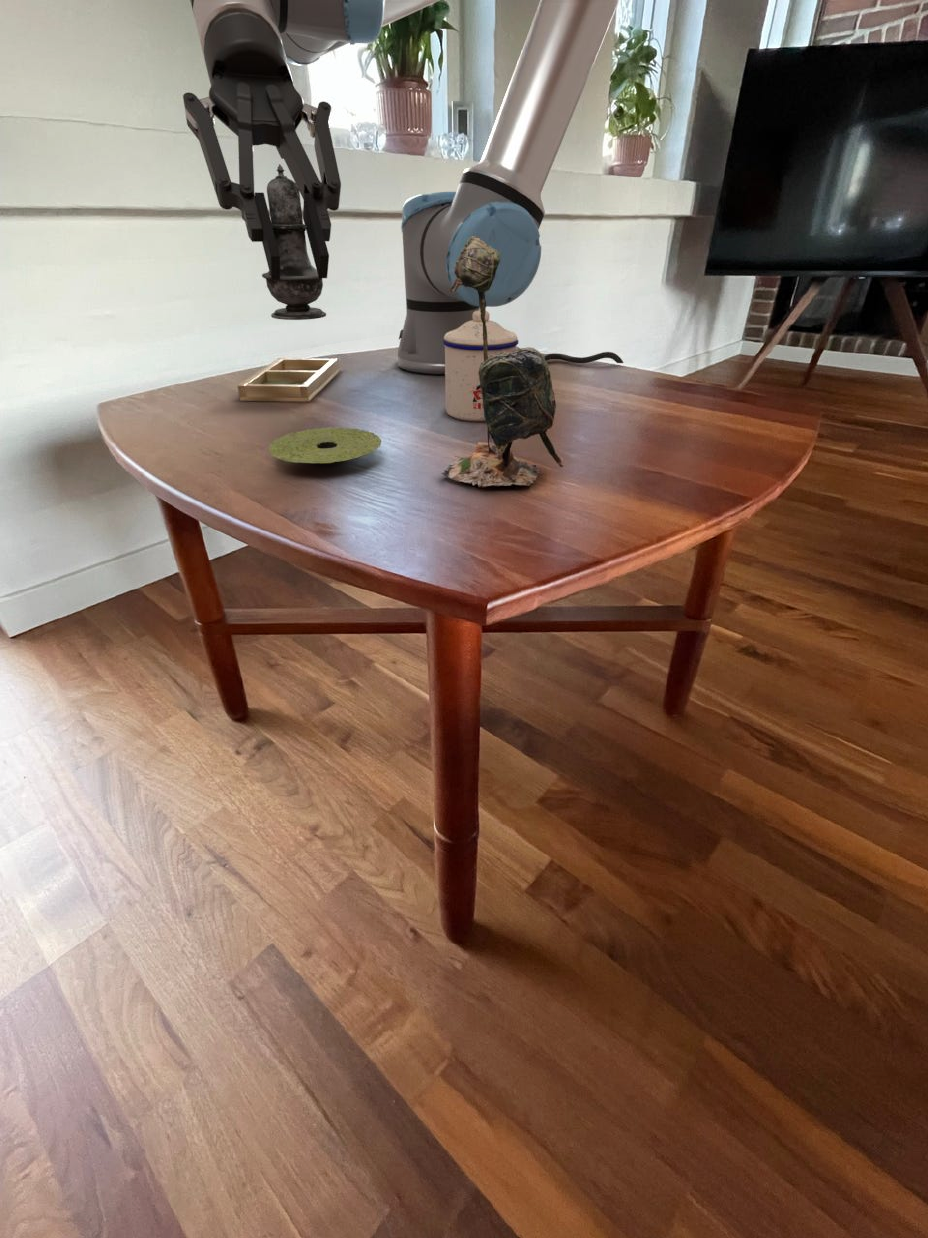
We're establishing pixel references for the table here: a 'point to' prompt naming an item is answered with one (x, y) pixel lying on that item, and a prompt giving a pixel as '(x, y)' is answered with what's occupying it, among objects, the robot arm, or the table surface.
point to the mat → (324, 445)
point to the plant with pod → (503, 390)
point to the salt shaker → (291, 254)
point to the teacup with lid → (471, 364)
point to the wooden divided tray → (289, 380)
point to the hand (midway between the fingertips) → (300, 267)
